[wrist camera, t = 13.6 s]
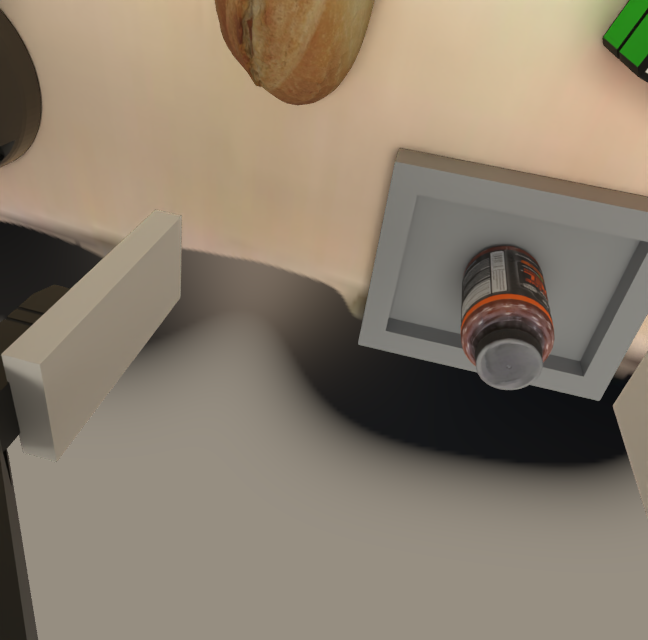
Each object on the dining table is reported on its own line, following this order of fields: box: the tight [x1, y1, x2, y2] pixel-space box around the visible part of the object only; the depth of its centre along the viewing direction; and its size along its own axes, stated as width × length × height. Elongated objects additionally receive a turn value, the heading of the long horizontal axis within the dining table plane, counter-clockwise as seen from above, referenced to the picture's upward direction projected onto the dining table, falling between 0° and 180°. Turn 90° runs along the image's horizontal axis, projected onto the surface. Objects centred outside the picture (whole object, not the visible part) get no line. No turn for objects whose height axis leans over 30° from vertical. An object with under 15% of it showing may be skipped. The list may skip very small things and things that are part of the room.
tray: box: [358, 148, 648, 401], centre depth 44 cm, size 20×16×3 cm
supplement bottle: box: [461, 246, 555, 390], centre depth 40 cm, size 6×6×11 cm
